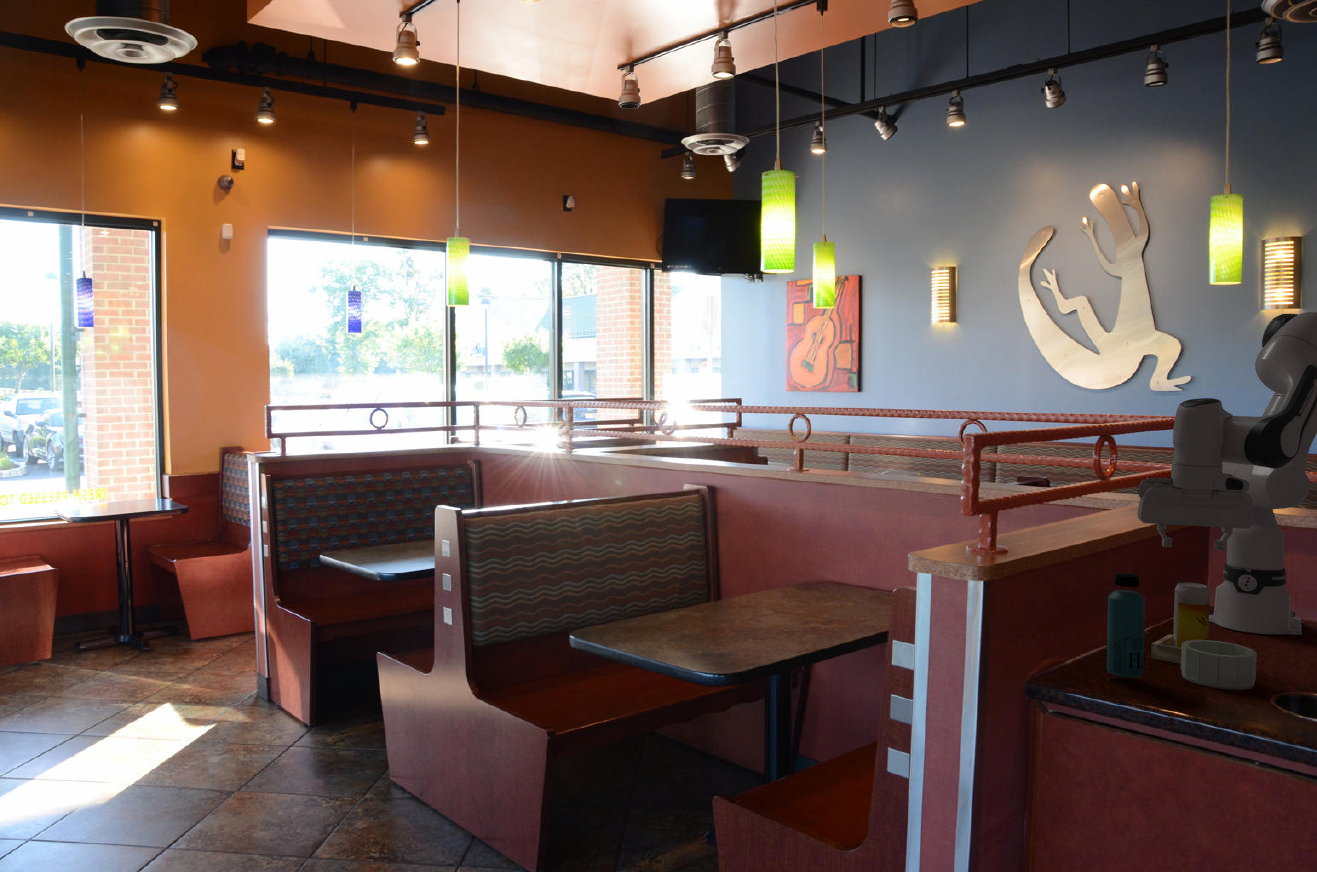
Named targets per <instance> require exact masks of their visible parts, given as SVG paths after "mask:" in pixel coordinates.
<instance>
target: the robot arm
mask: <svg viewBox="0 0 1317 872" xmlns="http://www.w3.org/2000/svg"><path fill="white" fill-rule="evenodd" d="M1261 340H1262V341H1261V347H1262V349H1261V350H1260V351H1259V353H1258V354H1257V357H1256V359H1255V362H1254V367H1255V372H1256V375H1257V378H1258V379H1259V380H1260V382H1261V383H1262V384H1263V385H1264V386H1265V387H1266V388H1268V389H1269V390H1270V391H1273V392H1274V394H1273V395H1272V397H1271V399H1270V401H1269V403H1268V404H1267V407H1266V409H1265V410H1264V411H1263V414H1262V416H1245V415H1233V414H1232V413H1230V412H1228V411H1227V410H1225V409H1224V408H1223V403H1222V401H1221V400H1220V399H1217V398H1212V397H1202V398H1201V397H1200V398H1191V399H1187V400H1184V401H1182V402H1180V403H1179V404H1178V407H1177V409H1176V413H1175V416H1174V421H1173V432H1172V444H1173V449H1174V454H1173V458H1172V460H1171V470H1170V471H1171V473H1170V477H1168V478H1167V477H1161V478H1158V477H1147V478H1146V479H1143V480H1141V481H1140V482H1139V483H1138V487H1137V493H1138V498H1139V503H1138V509H1137V510H1138V511H1137V518H1138V520H1139V521H1140V522H1141V523H1144V524H1151V525H1153V524H1154V525H1155V524H1156V530H1157V531H1158V534H1159V535H1160V536H1161V545H1162V547H1164V548H1172V547H1173V538H1172V537H1168V536H1167V534H1166V532H1165V531H1166V530H1167V525H1169V526H1170V525H1172V526H1174V525H1175V526H1189V527H1190V526H1191V527H1192V526H1195V527H1208V528H1209V527H1212V528H1221V532H1222V533H1223V534H1222V535H1221V536H1220V538H1219V539H1214V545H1213V546H1214V550H1217V551H1226V562H1225V563H1224V565H1223V571H1222V573H1223V579H1224V581H1223V582H1222V583H1220V584H1219V585H1218V586H1216V588H1215V597H1214V607H1213V608H1214V609H1213V614H1209V622H1210V623H1214V624H1216V625H1218V626H1220V627H1223V628H1226V629H1228V630H1229V629H1230V630H1233V631H1239V632H1244V633H1252V634H1261V635H1296V636H1301V635H1303V632H1302V631H1303V629H1302V627H1303V626H1302V624H1303V623H1302V619H1301V618H1300V617H1296V612H1295V611H1292V610H1291V609H1292V596H1291V595H1290V592H1289V591H1288V589H1287V587H1286V584H1287V573H1286V568H1285V566H1284V565H1285V561H1284V560H1285V538H1286V537H1285V533H1284V532H1283V529H1282V528H1281V527H1280V526H1279V524H1278V522H1277V519H1276V516H1275V512H1274V510H1281V509H1282V510H1283V509H1289V508H1290V509H1291V508H1293V507H1297V506H1299V505H1300V504H1301V503H1303V502H1304V501H1305V500H1306V498H1307V497H1308V495H1309V493H1310V489H1311V488H1310V487H1311V486H1310V480H1309V477H1308V475H1307V472H1306V470H1307V469H1306V468H1307V461H1308V456H1309V453H1310V449H1311V447H1312V444H1313V441H1314V440H1315V438H1316V436H1317V312H1314V311H1307V312H1302V313H1299V314H1297V313H1281V314H1280V315H1277V316H1274V317H1273V318H1272V319H1271V320H1270V322H1269V323H1268V324H1267V325H1266V327H1265V330H1264V331H1263V335H1262V339H1261Z"/></svg>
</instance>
